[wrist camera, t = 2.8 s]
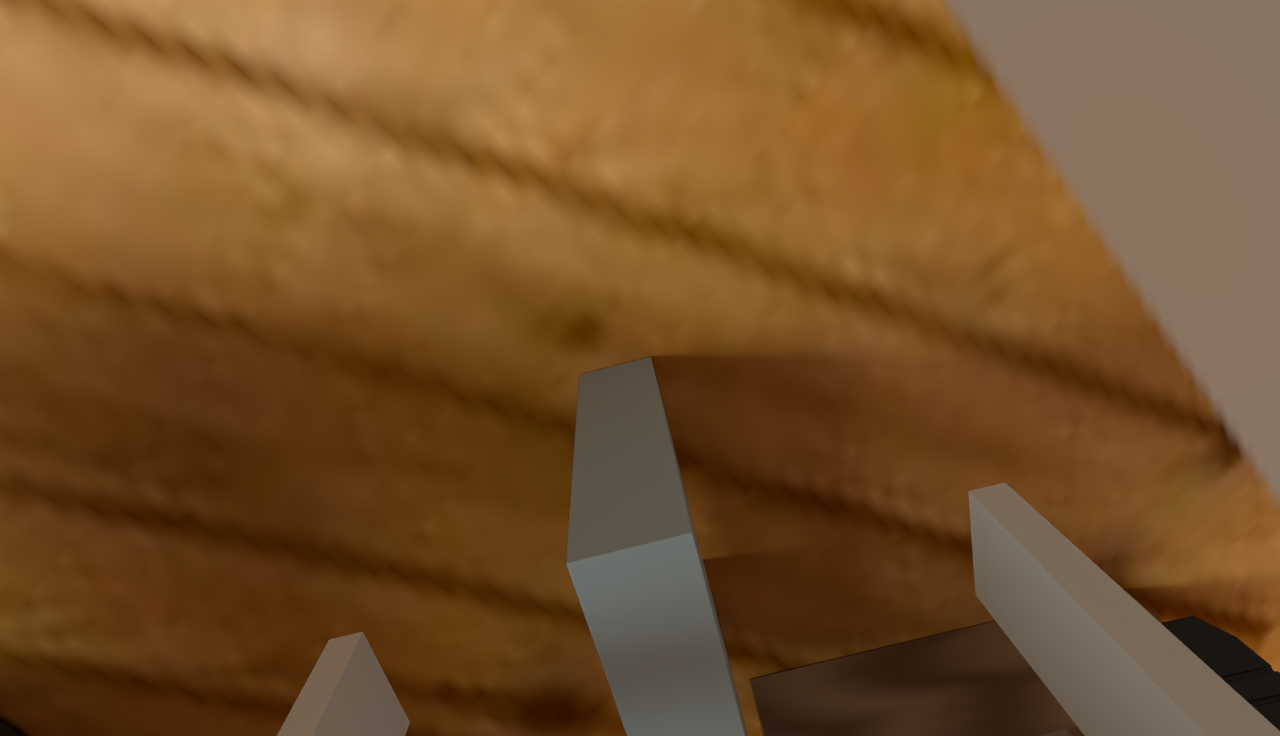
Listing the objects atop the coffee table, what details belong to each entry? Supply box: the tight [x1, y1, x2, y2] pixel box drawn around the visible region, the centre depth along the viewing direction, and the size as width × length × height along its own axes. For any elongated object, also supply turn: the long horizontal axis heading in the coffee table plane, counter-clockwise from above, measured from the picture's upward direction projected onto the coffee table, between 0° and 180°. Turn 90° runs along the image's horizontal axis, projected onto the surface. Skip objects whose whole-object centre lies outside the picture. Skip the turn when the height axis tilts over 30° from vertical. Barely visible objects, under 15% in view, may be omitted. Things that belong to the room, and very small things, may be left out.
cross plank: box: [566, 357, 747, 736], centre depth 19 cm, size 2×13×10 cm, turn 14°
